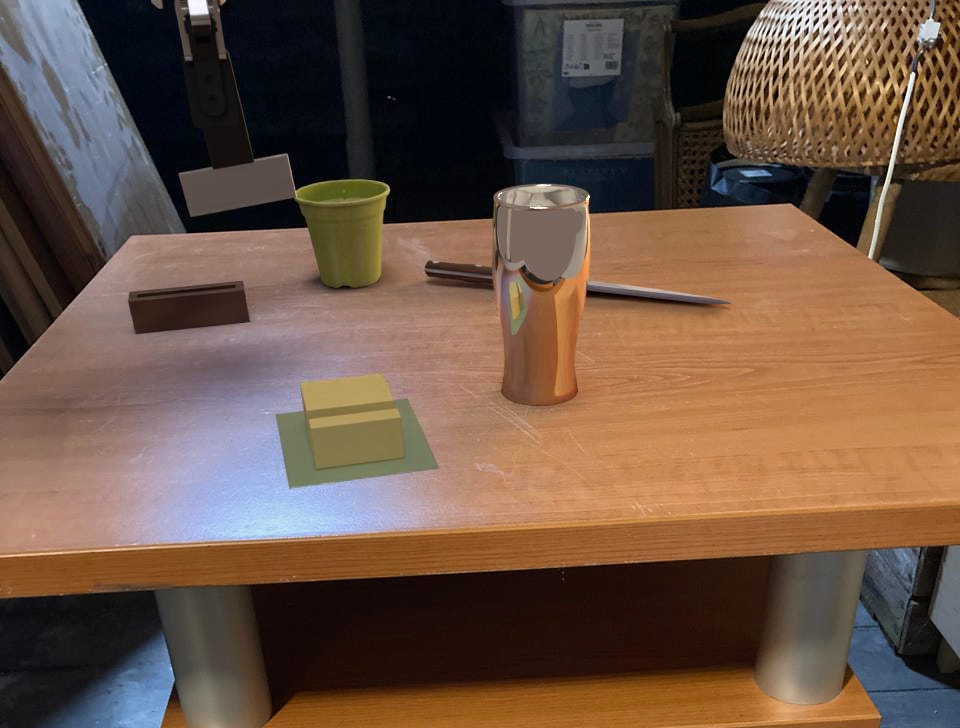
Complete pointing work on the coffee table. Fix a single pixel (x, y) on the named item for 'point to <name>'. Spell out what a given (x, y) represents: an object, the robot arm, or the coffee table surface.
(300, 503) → the coffee table surface
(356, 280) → the plant pot
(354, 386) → the butter block
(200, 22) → the robot arm
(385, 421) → the butter slice
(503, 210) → the beer glass
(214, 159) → the spatula
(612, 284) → the steak knife
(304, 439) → the butter dish
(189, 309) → the knife block
